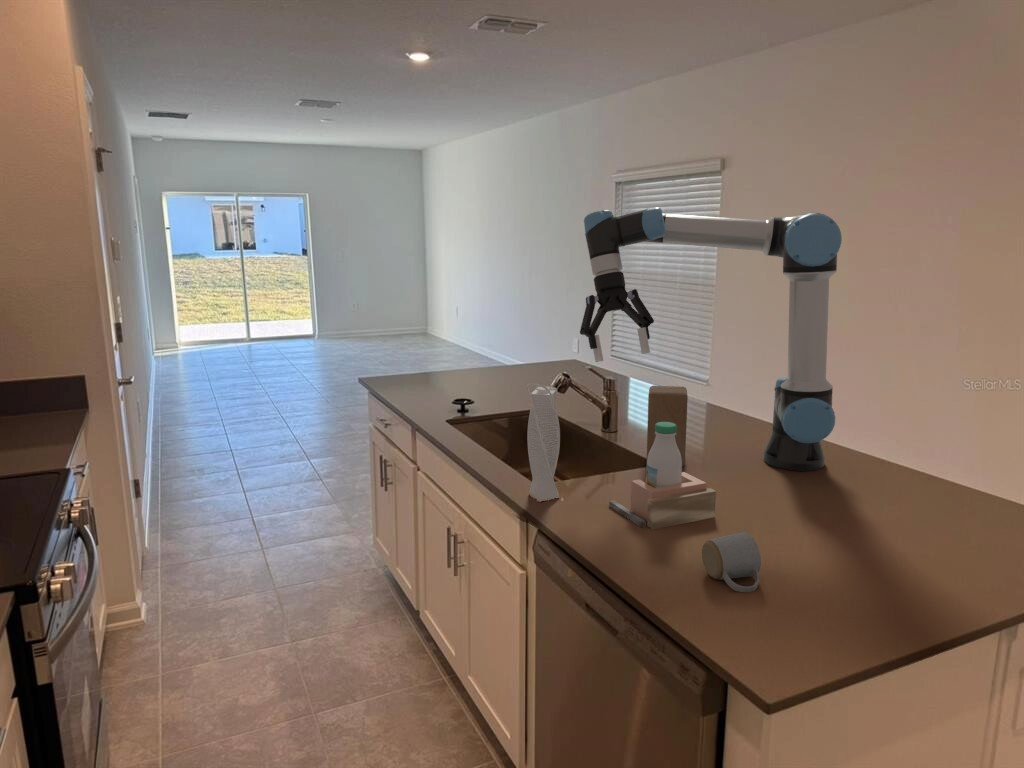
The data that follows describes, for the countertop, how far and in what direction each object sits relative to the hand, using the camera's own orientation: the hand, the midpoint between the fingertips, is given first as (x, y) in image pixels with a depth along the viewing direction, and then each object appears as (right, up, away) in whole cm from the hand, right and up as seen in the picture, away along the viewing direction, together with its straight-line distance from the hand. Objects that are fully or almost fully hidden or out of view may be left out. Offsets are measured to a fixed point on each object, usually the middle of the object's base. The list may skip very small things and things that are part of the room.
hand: (623, 357), depth 174 cm
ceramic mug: (+12, -42, -50) cm, 66 cm away
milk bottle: (+6, -35, -18) cm, 40 cm away
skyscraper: (-20, -34, -10) cm, 41 cm away
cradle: (+7, -35, -20) cm, 41 cm away
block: (+14, -28, +15) cm, 35 cm away
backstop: (+6, -35, -19) cm, 40 cm away
